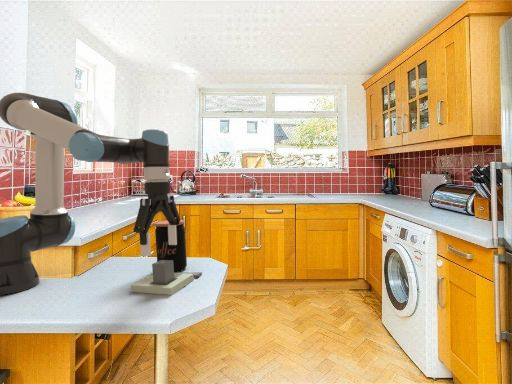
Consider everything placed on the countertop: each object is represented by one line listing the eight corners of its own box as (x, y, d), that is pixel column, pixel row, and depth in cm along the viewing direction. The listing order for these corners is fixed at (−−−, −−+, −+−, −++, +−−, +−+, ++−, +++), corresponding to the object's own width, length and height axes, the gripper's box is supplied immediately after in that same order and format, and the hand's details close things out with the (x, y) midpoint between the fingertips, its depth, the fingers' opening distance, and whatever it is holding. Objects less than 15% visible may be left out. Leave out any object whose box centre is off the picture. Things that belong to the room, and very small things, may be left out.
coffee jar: (151, 272, 108) (148, 223, 108) (172, 264, 118) (169, 219, 117) (173, 275, 103) (170, 224, 103) (193, 266, 113) (190, 220, 112)
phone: (178, 278, 100) (178, 275, 100) (182, 274, 104) (182, 272, 104) (198, 277, 99) (198, 275, 99) (201, 274, 103) (201, 272, 103)
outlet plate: (131, 291, 90) (131, 284, 90) (157, 277, 102) (157, 271, 102) (171, 294, 86) (171, 287, 85) (193, 279, 98) (193, 273, 98)
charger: (153, 289, 91) (152, 263, 90) (162, 284, 95) (161, 259, 94) (166, 290, 89) (164, 264, 89) (174, 285, 93) (173, 260, 93)
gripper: (140, 182, 78) (144, 261, 79) (189, 180, 101) (191, 241, 102) (117, 182, 80) (121, 260, 81) (170, 180, 104) (172, 240, 105)
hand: (160, 249), depth 92 cm, fingers open, 13 cm apart
